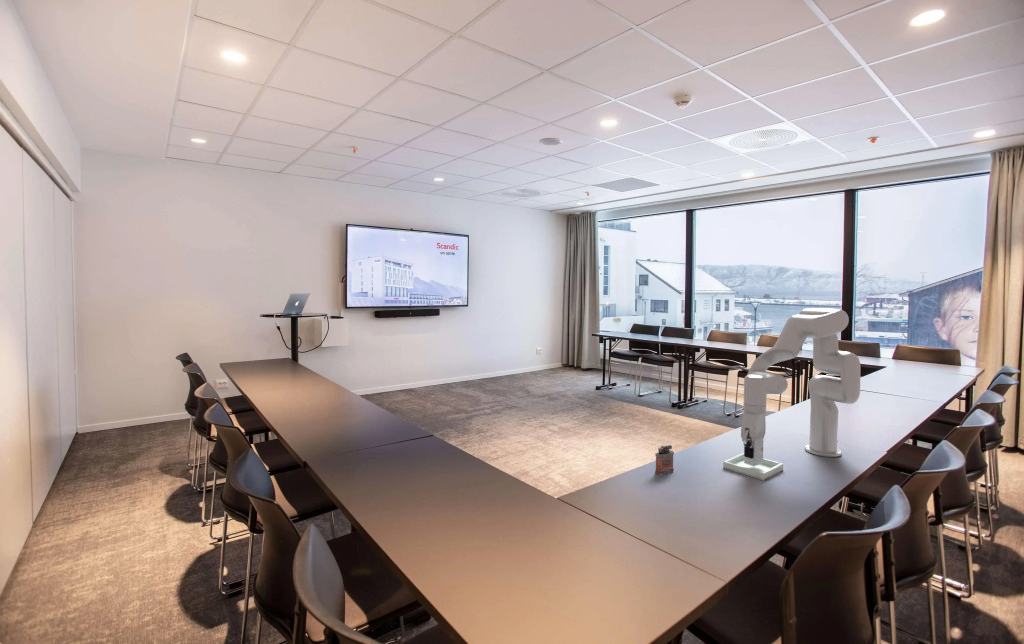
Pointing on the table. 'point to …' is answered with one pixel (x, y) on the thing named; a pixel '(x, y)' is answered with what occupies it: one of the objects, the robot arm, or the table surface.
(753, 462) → the skincare box
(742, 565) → the table surface
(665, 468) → the lighter
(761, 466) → the sage tray
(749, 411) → the robot arm
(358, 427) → the table surface
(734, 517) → the table surface
